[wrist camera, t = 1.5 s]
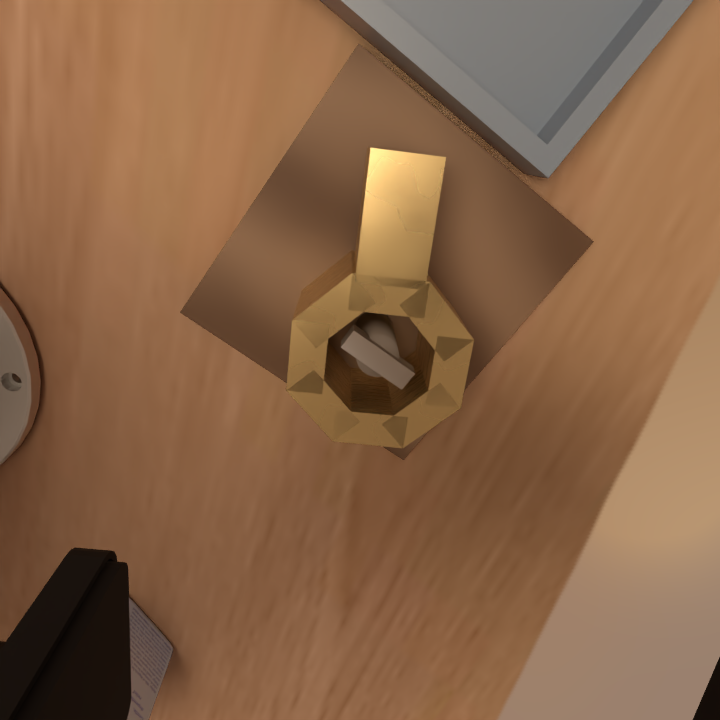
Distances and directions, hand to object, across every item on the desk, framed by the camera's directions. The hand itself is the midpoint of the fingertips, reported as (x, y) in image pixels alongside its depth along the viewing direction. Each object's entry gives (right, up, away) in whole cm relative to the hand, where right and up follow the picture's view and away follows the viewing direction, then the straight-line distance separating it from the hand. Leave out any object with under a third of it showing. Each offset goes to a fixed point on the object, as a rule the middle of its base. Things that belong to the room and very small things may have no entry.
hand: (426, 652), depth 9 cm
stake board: (0, +8, +16) cm, 18 cm away
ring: (0, +8, +15) cm, 17 cm away
